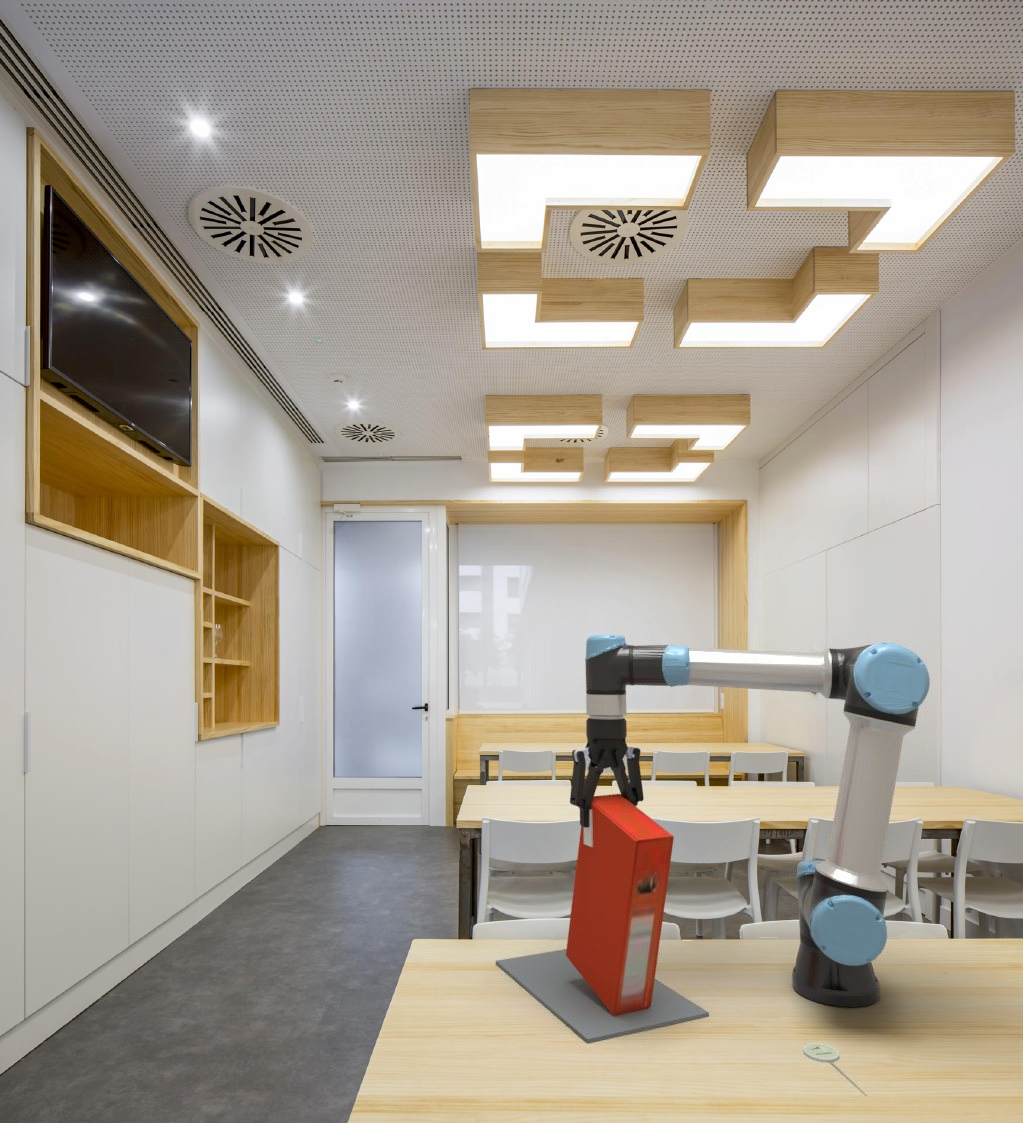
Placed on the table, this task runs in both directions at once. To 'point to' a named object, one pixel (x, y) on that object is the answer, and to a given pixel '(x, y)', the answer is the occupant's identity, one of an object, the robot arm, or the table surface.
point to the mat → (592, 998)
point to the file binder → (619, 904)
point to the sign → (825, 1056)
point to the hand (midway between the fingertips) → (607, 843)
